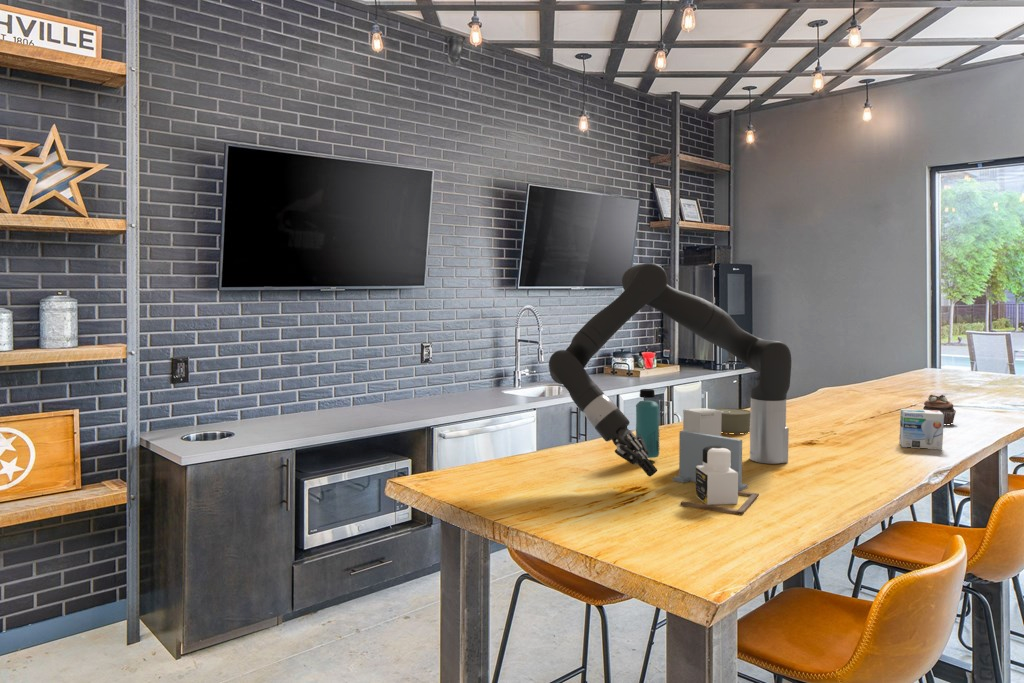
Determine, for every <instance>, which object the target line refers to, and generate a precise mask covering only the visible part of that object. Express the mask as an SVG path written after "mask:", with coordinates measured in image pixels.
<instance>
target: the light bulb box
mask: <svg viewBox="0 0 1024 683" xmlns="http://www.w3.org/2000/svg"><path fill="white" fill-rule="evenodd" d="M899 419H900V423H899V441H898V442H899V445H900V446H901V448H907V447H911V449H920V448H928V449H927V450H933V449H942V450H943V444H944V443H943V440H944V439H943V438H944V425H943V424H944V414H943V413H942V412H940V411H937V410H924V409H912V408H911V409H910V408H909V409H907V408H900V418H899ZM929 448H930V449H929Z"/></svg>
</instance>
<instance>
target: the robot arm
mask: <svg viewBox="0 0 1024 683" xmlns="http://www.w3.org/2000/svg"><path fill="white" fill-rule="evenodd" d="M621 285H622V288H623V290H624V291H623V292H621V294H620V295H619V296H618V297H617V298H616V299H614V300H613V301H612V302H611V303H609V304H608V305H607V306H605V307H604V308H603V309H601V310H600V311H599V312H598V313H595V315H594V316H592V317H591V318H590V319H589V320H588V321H587V322H586V323H585V324H584V325H583V326H582V327H581V328H580V329H579V330H578V331H577V333H576V334H574V336H573V338H572V339H571V342H570V344H569V346H568V347H567V348H566V349H565V350H564V349H560V350H557V351H555V352H554V353H552V354H551V356H550V358H549V360H548V368H549V374H550V377H551V379H552V380H553V381H554V382H555V383H557V384H559V385H563V387H564V388H565V389H566V391H568V393H569V395H570V398H571V400H572V401H573V402H574V405H576V406H577V407H578V408H579V410H580V411H581V412H582V413H583V415H584V416H585V418H586V419H587V421H588V422H589V423H590V425H591V426H592V427H593V428H594V429H595V431H596V432H597V433H598V434H599V436H600V437H601V438H602V439H603V440H604V441H605V442H607V443H608V442H611V441H612V443H613V445H615V447H616V449H615V450H614V453H615V454H616V455H617V456H618V457H620V458H622V459H624V460H625V461H626V462H628V463H629V464H631V465H635V464H636V465H637V466H639V467H640V468H641V469H642V470H643V471H644V473H645V474H646V475H647V477H652V476H654V475H655V474H656V473H657V472H658V469H657V467H656V466H655V465H654V464H653V463H652V461H651V460H650V458H648V456H647V455H648V454H649V452H648V450H647V447H646V445H645V443H644V440H643V438H642V437H641V436H639V437H638V438H637V437H636V434H634V433H633V432H632V431H631V430H630V429H629V428H628V426H629V425H630V420H629V419H628V418H627V417H626V416H625V414H624V413H623V412H622V411H621V409H620V408H619V407H618V406H617V405H616V404H615V403H614V402H613V400H611V398H609V396H607V395H606V394H605V392H604V391H603V390H602V389H601V388H600V387H599V385H598V384H597V383H595V382H594V380H593V379H592V378H591V376H590V375H589V374H588V371H586V369H585V367H586V366H587V365H588V364H589V362H590V361H591V359H592V358H593V357H594V356H595V355H596V354H597V353H598V352H599V351H600V350H601V349H602V348H603V347H604V345H605V344H607V342H608V341H610V339H611V338H612V337H614V335H615V334H616V333H617V332H618V331H619V330H620V329H621V328H622V326H624V325H625V324H626V323H627V322H628V321H629V320H630V319H631V318H632V317H633V316H634V315H636V314H637V313H639V312H640V310H642V309H643V308H644V307H646V306H648V307H650V308H653V309H655V310H657V311H658V312H661V313H663V314H664V315H666V316H667V317H668V318H670V319H671V320H673V321H674V322H675V323H678V324H679V325H681V326H682V327H684V328H685V329H687V330H689V331H690V332H691V333H693V334H695V335H696V336H698V337H700V338H701V339H703V340H705V341H707V342H709V343H711V344H712V345H714V346H717V347H719V348H720V349H722V350H725V351H727V352H729V353H730V354H731V355H733V356H734V357H736V358H737V359H738V360H739V361H741V362H742V363H744V364H745V365H746V366H747V367H748V368H750V369H751V370H753V371H754V372H757V373H759V379H758V383H757V384H756V385H754V386H752V388H751V389H750V410H749V411H750V433H749V459H750V461H752V462H756V463H759V464H770V465H771V464H773V465H774V464H775V465H776V464H778V465H779V464H784V463H789V437H790V436H789V433H790V432H789V430H790V429H789V427H788V426H787V394H788V391H789V389H790V386H791V376H792V355H791V350H790V348H789V346H788V345H787V344H786V343H784V342H782V341H779V340H772V339H771V340H770V339H763V338H760V337H757V336H756V335H753V334H751V332H750V333H749V332H748V331H745V330H744V329H743V328H741V327H740V326H739V325H738V324H737V322H736V321H735V319H733V318H732V317H731V315H730V314H729V313H728V312H727V311H725V310H724V309H722V308H721V307H719V306H717V305H716V304H714V303H713V302H710V301H709V300H707V299H705V298H703V297H700V296H697V295H695V294H692V293H688V292H685V291H682V290H680V289H676V288H675V287H672V286H670V285H669V284H668V275H667V272H666V270H665V269H664V268H663V267H662V266H661V265H659V264H657V263H653V262H646V263H642V264H636V265H633V266H631V267H629V268H628V269H627V270H626V271H624V273H623V275H622V278H621Z"/></svg>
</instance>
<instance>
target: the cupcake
mask: <svg viewBox="0 0 1024 683" xmlns="http://www.w3.org/2000/svg"><path fill="white" fill-rule="evenodd" d="M927 399H928V400H925V401H924V403H923V404H924V406H923V409H922V410H937V411H940V412H942V413H943V414H944V424H951V423H953V424H954V419H955V416H956V412H957V410H956V409H955V408H954V404H953V403H952V402H951V401H949V400H948V399H947V397H946V395H943V394H940V395H938V396H937V395H934V394H930V395H929V396H928V398H927Z"/></svg>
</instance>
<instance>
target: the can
mask: <svg viewBox="0 0 1024 683" xmlns="http://www.w3.org/2000/svg"><path fill="white" fill-rule="evenodd" d="M714 410H720V411H722V420H721V432H723V433H734V434H740V433H748V432H750V410H747V409H743V408H742V409H741V408H716V409H714ZM748 434H749V433H748Z"/></svg>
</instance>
